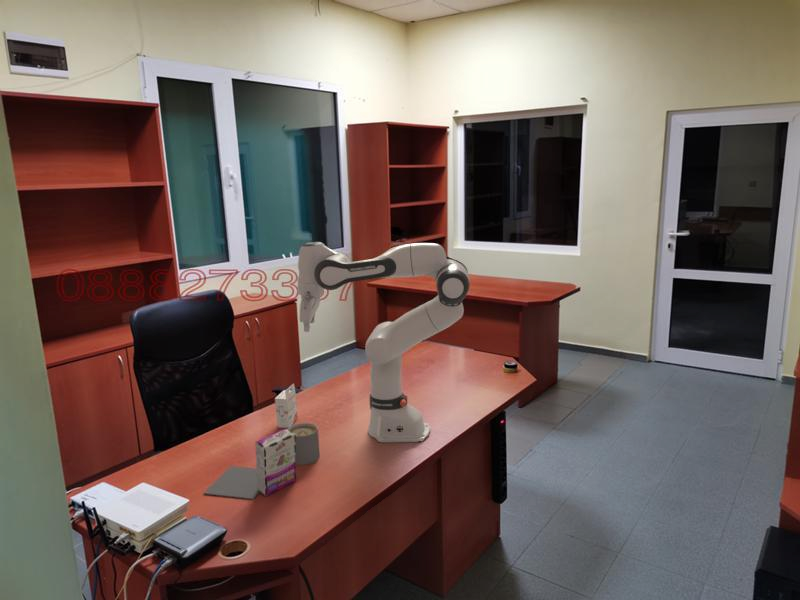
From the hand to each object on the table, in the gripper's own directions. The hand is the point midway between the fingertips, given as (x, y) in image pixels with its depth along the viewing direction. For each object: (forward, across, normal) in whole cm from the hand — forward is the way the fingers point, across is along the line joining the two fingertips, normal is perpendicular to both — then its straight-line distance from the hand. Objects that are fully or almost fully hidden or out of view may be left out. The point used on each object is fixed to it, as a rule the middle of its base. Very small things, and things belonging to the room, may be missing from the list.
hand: (309, 326), depth 197 cm
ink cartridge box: (+41, +5, +8) cm, 42 cm away
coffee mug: (+38, -20, -4) cm, 44 cm away
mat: (+39, -37, +13) cm, 55 cm away
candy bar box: (+38, -39, +2) cm, 55 cm away
